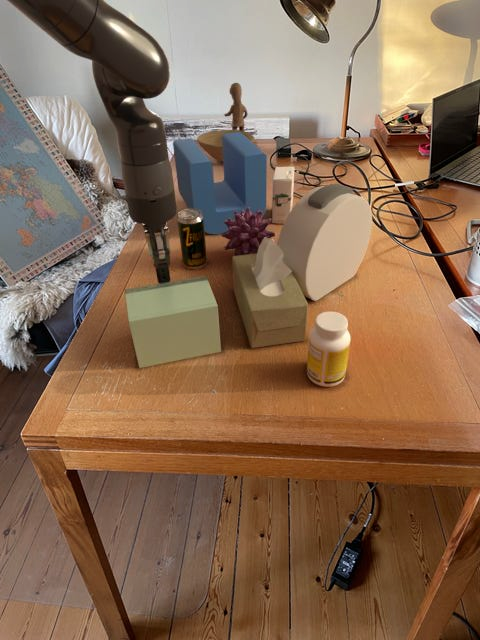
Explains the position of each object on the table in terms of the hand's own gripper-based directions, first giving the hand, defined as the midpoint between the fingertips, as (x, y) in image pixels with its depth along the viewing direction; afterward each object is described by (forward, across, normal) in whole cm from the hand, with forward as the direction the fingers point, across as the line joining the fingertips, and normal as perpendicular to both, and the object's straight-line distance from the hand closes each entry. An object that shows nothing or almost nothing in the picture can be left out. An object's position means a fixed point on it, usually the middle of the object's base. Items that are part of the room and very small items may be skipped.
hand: (164, 280), depth 81 cm
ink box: (+8, -34, +34) cm, 49 cm away
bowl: (+8, -79, +30) cm, 85 cm away
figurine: (+8, -94, +39) cm, 102 cm away
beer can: (+9, -18, +8) cm, 22 cm away
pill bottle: (+9, +22, +22) cm, 32 cm away
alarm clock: (+8, -3, +32) cm, 33 cm away
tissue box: (+9, +4, +18) cm, 20 cm away
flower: (+8, -17, +20) cm, 28 cm away
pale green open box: (+8, +8, 0) cm, 11 cm away
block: (+8, -39, +19) cm, 44 cm away
